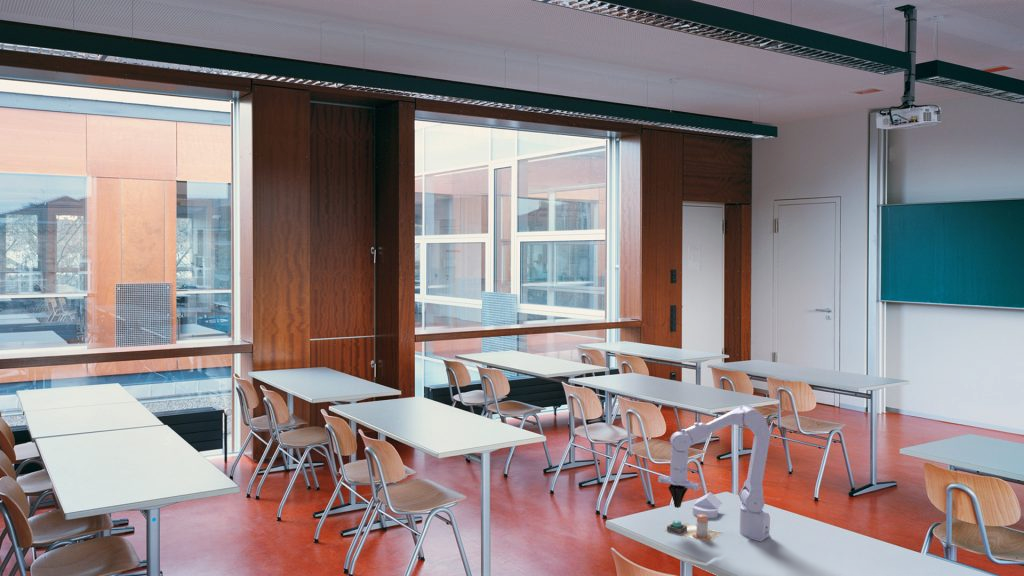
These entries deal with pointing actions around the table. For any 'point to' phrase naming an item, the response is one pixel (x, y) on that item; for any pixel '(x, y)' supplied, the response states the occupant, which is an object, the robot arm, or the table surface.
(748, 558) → the table surface
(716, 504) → the wedge on round base
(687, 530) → the beige base plate
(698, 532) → the capsule peg
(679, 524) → the button
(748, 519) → the robot arm
